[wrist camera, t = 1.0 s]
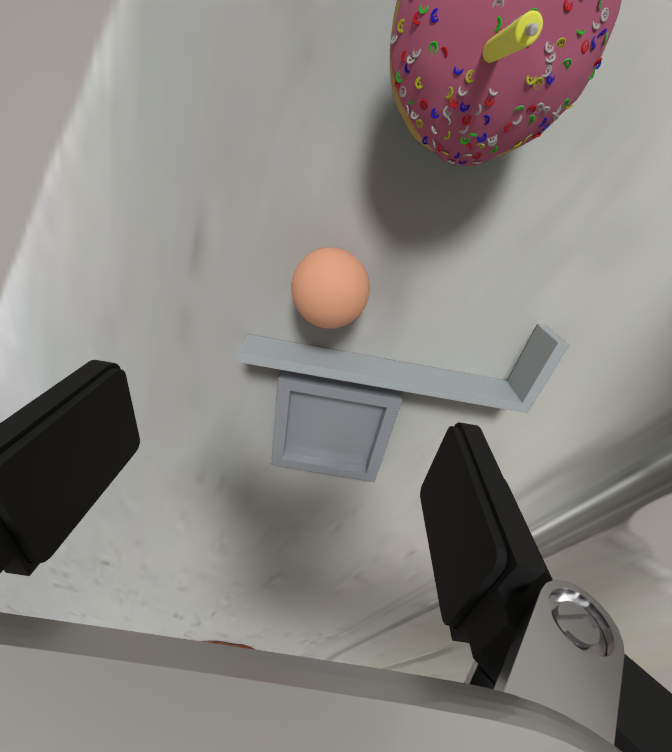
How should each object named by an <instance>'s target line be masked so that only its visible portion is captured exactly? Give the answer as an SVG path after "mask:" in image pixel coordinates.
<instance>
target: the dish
mask: <svg viewBox="0 0 672 752" xmlns="http://www.w3.org/2000/svg"><path fill="white" fill-rule="evenodd" d="M401 403H402V394H401V391H399V390H393V389H388V388H382V387H376V386H371V385H365V384H359V383H354V382H348V381H342V380H337V379H331V378H325V377H320V376H314V375H308V374H303V373H297V372H291V371H286V370H282V371H281V373H280V376H279V378H278V390H277V402H276V415H275V427H274V440H273V452H272V465H275V466H281V467H287V468H293V469H299V470H305V471H311V472H317V473H323V474H329V475H335V476H341V477H346V478H352V479H358V480H364V481H370V482H375V479H376V476H377V473H378V470H379V467H380V465H381V462H382V459H383V456H384V453H385V450H386V447H387V444H388V441H389V438H390V435H391V432H392V429H393V426H394V423H395V420H396V418H397V415H398V412H399V409H400V406H401Z"/></svg>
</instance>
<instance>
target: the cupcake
mask: <svg viewBox="0 0 672 752" xmlns="http://www.w3.org/2000/svg"><path fill="white" fill-rule="evenodd" d="M620 5H621V0H397V3H396V7H395V13H394V18H393V26H392V34H391V43H390V75H391V84H392V90H393V95H394V99H395V102H396V105H397V108H398V110H399V112H400V114H401V116H402V118H403V120H404V122H405V124H406V126H407V128H408V130H409V132H410V133H411V135H412V136H413V137H414V138H415V139H416V140H417V141H418V142H420V143H421V144H422V145H423V146H425V147H426V148H427V149H429V150H431V151H433V152H435V153H436V154H437V155H438V156H439V157H440V158H442V159H443V160H445V161H446V162H449V163H452V164H455V165H461V166H475V165H479V164H482V163H484V162H486V161H488V160H490V159H492V158H495V157H498V156H501V155H504V154H506V153H508V152H510V151H512V150H514V149H516V148H518V147H520V146H522V145H524V144H526V143H528V142H529V141H531V140H533V139H535V138H536V137H539V136H540V135H541V134H542V133H543V132H544V131H545V130H546V129H547V128H548V127H549V126H550V125H551V124H552V123H553V122H554V121H555V120H556V119H558V117H559V116H560V115H561V114H562V113H563V112H564V111H565V110H566V109H568V108H570V107H573V105H571V104H573V103H574V102H575V101H576V100H577V99H578V97H579V96H580V95H581V93H582V91H583V90H584V88H585V86H586V85H587V83H588V81H589V80H591V79H592V78H593V76H594V73H595V69H598V68H599V67H600V65H601V60H602V58H601V56H602V54H603V51H604V49H605V47H606V44H607V42H608V39H609V37H610V35H611V32H612V30H613V27H614V25H615V22H616V19H617V16H618V13H619V10H620ZM597 64H598V66H597ZM570 105H571V106H570Z"/></svg>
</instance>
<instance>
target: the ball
mask: <svg viewBox="0 0 672 752" xmlns="http://www.w3.org/2000/svg"><path fill="white" fill-rule="evenodd" d="M369 287H370V286H369V279H368V275H367V273H366V270H365V268H364V267H363V265H362V264H361V262H360V261H359V260H358V259H357V258H356V257H355V256H353V255H352V254H351V253H349V252H347V251H345V250H342V249H338V248H321V249H318V250H315V251H313V252H311V253H310V254H308V255H307V256H306V257H305V258H304V259H302V261H301V262H300V263H299V264H298V266H297V268H296V270H295V272H294V275H293V278H292V283H291V291H292V298H293V301H294V304H295V306H296V308H297V310H298V311H299V313H300V314H301V315H302V316H303V317H304V318H305V319H306V320H307V321H309V322H310V323H312V324H314V325H316V326H319V327H322V328H339V327H343V326H345V325H347V324H349V323H351V322H352V321H354V320H355V319H356V318H357V317H358V316H359V315H360V314H361V313H362V311H363V309H364V308H365V306H366V304H367V301H368V297H369Z"/></svg>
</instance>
